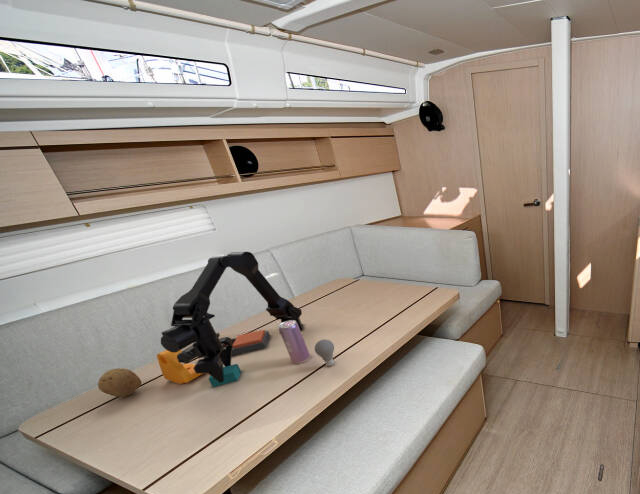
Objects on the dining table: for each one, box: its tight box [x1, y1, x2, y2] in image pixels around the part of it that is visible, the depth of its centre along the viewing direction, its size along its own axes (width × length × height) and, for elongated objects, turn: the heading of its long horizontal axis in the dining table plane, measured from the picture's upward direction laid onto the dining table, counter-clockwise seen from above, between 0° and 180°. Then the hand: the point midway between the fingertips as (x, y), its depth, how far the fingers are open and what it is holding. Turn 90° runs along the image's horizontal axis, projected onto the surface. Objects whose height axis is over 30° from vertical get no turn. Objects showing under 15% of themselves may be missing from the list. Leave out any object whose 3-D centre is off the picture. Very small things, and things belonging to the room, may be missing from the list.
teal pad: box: [208, 363, 242, 388], centre depth 120 cm, size 7×6×4 cm
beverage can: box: [277, 320, 311, 364], centre depth 126 cm, size 6×6×15 cm
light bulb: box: [314, 339, 335, 367], centre depth 122 cm, size 6×6×10 cm
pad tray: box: [203, 330, 271, 359], centre depth 140 cm, size 20×12×3 cm, turn 115°
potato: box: [97, 367, 142, 398], centre depth 115 cm, size 9×9×10 cm
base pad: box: [233, 329, 266, 349], centre depth 141 cm, size 9×9×3 cm
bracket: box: [156, 349, 204, 385], centre depth 122 cm, size 11×7×12 cm, turn 73°
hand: (225, 374), depth 120 cm, fingers open, 9 cm apart
